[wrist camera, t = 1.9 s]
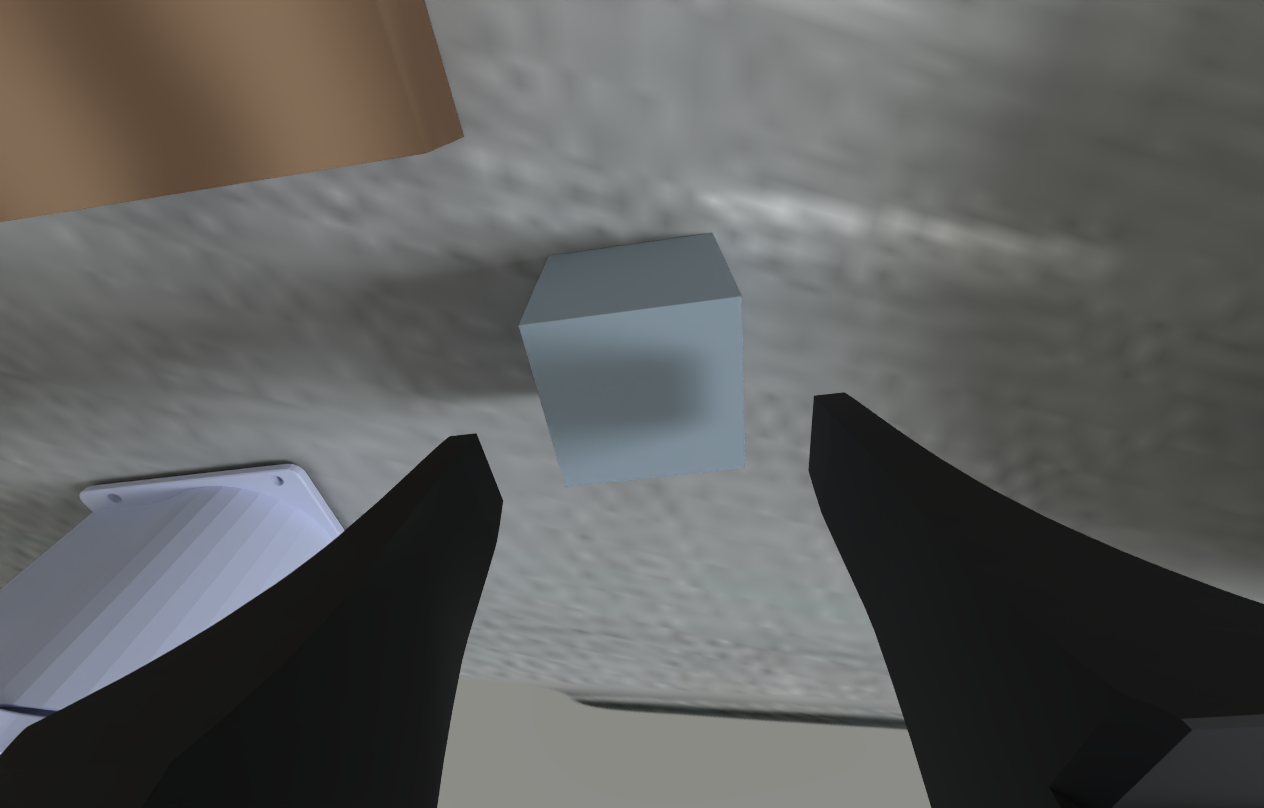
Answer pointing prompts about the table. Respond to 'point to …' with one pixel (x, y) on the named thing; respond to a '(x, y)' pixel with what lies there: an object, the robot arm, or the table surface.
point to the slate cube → (639, 360)
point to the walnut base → (207, 95)
